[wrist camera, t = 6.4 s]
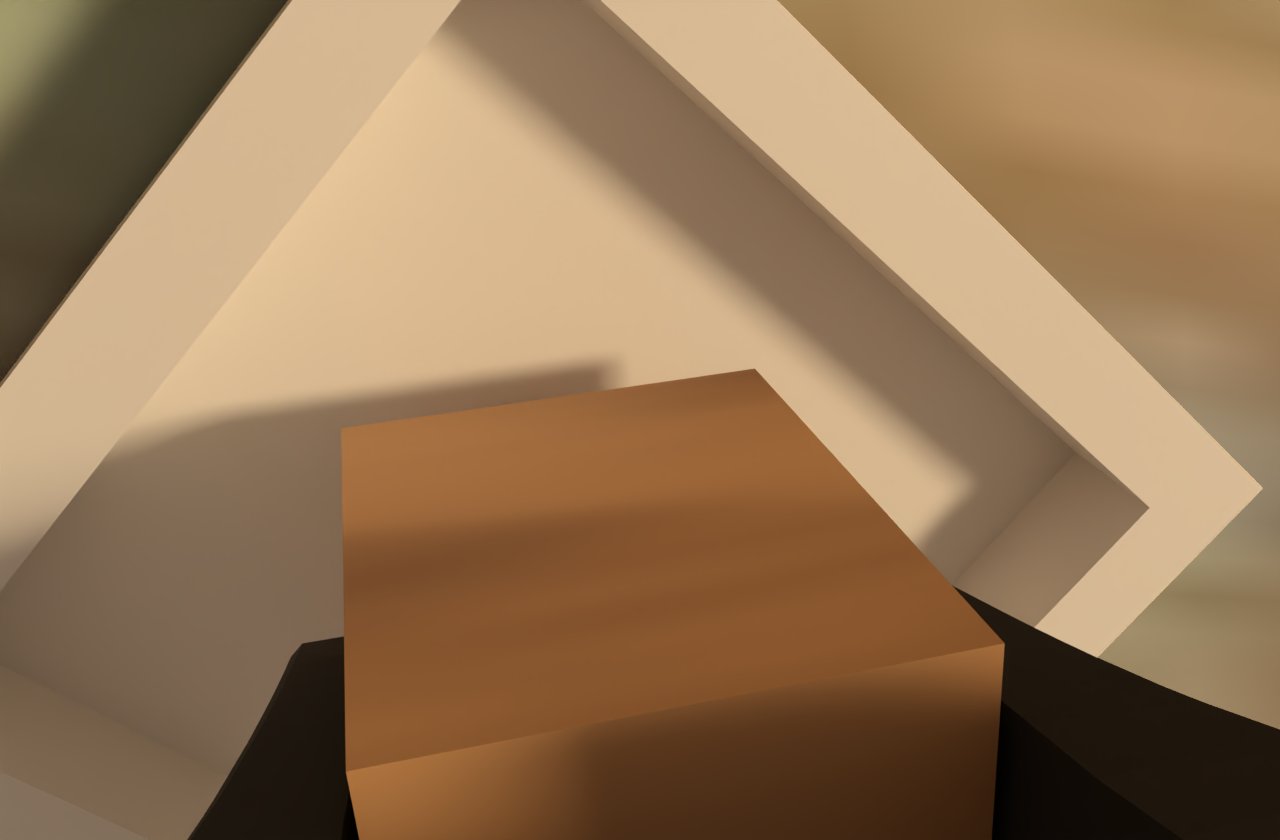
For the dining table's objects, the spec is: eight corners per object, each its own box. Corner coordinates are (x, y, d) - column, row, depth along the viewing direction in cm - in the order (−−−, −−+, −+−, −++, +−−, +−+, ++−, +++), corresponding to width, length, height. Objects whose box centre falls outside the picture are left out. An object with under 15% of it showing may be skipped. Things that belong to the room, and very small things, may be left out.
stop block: (764, 702, 14) (974, 1092, 9) (401, 773, 13) (439, 1236, 8) (754, 368, 12) (1004, 643, 8) (341, 427, 11) (345, 771, 7)
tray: (599, 1005, 17) (630, 1134, 15) (-190, 635, 13) (-275, 754, 11) (1155, 420, 16) (1262, 488, 14) (474, -248, 11) (500, -278, 9)
